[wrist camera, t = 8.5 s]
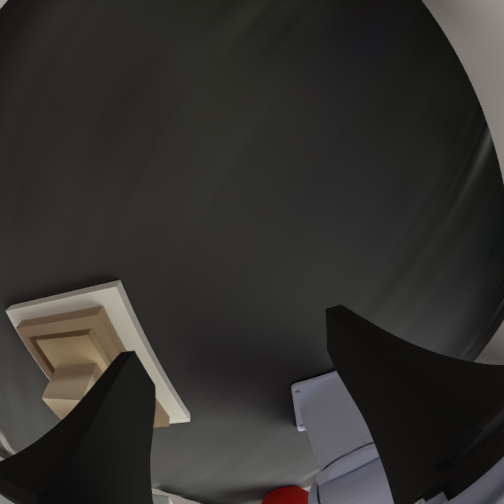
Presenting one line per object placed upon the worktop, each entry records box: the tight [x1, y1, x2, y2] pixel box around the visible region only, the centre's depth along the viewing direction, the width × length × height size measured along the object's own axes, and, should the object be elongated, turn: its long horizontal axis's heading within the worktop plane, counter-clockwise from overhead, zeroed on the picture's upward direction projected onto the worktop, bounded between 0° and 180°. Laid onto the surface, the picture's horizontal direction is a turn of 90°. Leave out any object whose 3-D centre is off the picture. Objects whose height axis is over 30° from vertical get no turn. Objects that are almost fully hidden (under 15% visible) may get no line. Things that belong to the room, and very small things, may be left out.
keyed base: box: [6, 280, 190, 427], centre depth 19 cm, size 16×13×2 cm
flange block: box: [36, 328, 112, 420], centre depth 17 cm, size 10×6×5 cm, turn 10°
